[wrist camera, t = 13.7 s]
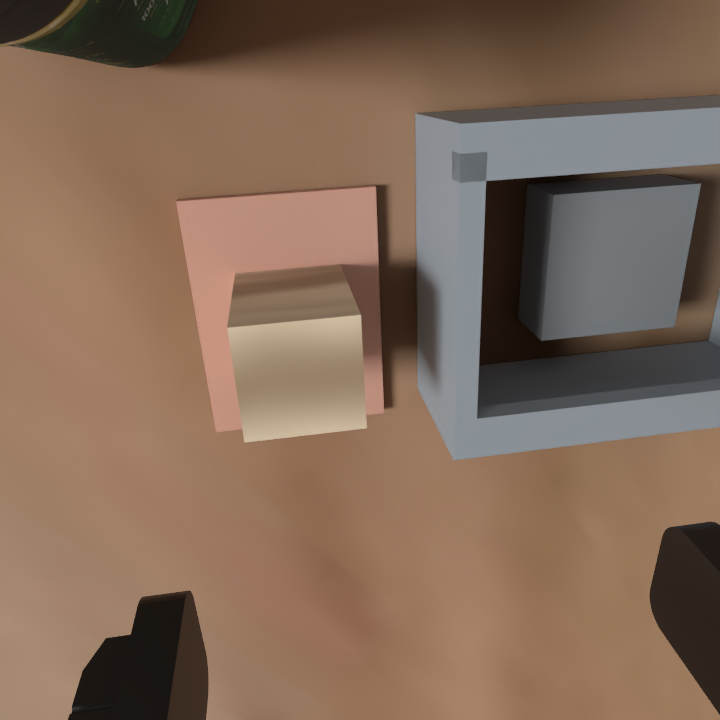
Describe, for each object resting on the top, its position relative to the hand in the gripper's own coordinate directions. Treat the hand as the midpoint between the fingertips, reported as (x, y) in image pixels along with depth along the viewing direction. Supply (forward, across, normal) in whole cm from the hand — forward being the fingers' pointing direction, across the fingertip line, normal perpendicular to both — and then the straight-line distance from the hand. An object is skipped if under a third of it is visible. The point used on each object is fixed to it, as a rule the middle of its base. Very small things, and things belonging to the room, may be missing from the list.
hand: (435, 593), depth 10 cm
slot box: (+22, -14, +1) cm, 25 cm away
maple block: (+21, +2, +3) cm, 21 cm away
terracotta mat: (+21, +2, +3) cm, 22 cm away
